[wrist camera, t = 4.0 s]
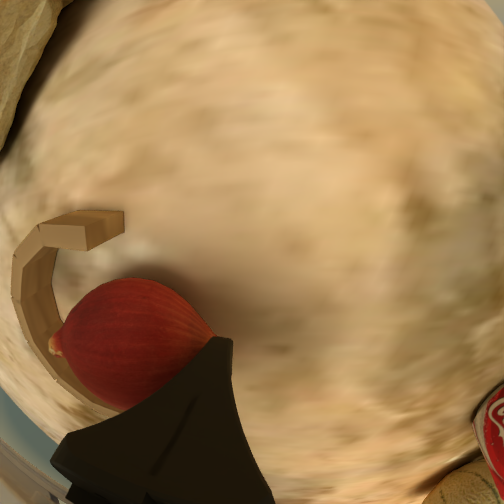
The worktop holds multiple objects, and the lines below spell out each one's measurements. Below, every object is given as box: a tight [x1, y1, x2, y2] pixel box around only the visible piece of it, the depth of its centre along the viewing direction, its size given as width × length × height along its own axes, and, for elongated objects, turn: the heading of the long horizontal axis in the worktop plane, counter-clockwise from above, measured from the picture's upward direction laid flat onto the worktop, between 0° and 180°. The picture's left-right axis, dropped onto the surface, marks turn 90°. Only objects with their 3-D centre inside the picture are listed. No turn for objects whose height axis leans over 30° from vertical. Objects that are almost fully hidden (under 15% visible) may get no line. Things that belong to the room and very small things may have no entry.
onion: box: [48, 277, 217, 411], centre depth 10 cm, size 6×6×8 cm
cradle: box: [11, 210, 125, 418], centre depth 12 cm, size 8×12×3 cm, turn 177°
